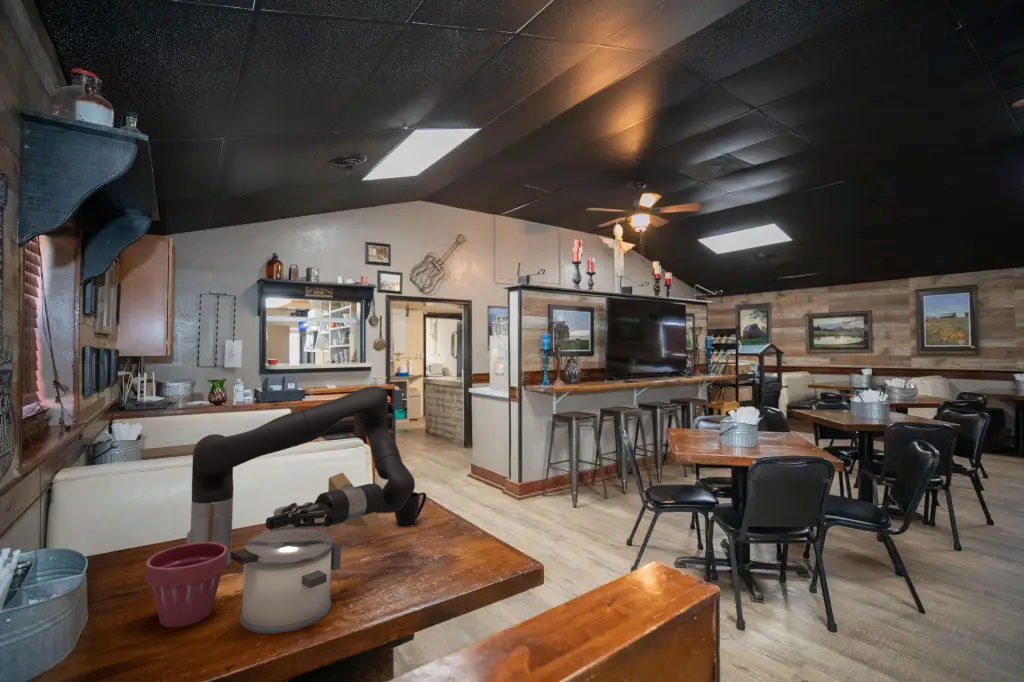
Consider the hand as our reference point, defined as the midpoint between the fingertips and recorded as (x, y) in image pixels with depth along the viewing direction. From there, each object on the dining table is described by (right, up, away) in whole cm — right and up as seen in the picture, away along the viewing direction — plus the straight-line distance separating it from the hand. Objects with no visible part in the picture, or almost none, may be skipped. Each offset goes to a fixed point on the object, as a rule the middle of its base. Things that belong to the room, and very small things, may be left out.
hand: (267, 524), depth 104 cm
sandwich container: (-1, -22, +62) cm, 66 cm away
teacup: (-17, -21, +46) cm, 54 cm away
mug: (+17, -22, +62) cm, 68 cm away
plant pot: (-17, -20, +1) cm, 26 cm away
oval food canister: (+3, -20, +3) cm, 20 cm away
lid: (+2, -7, +3) cm, 8 cm away
